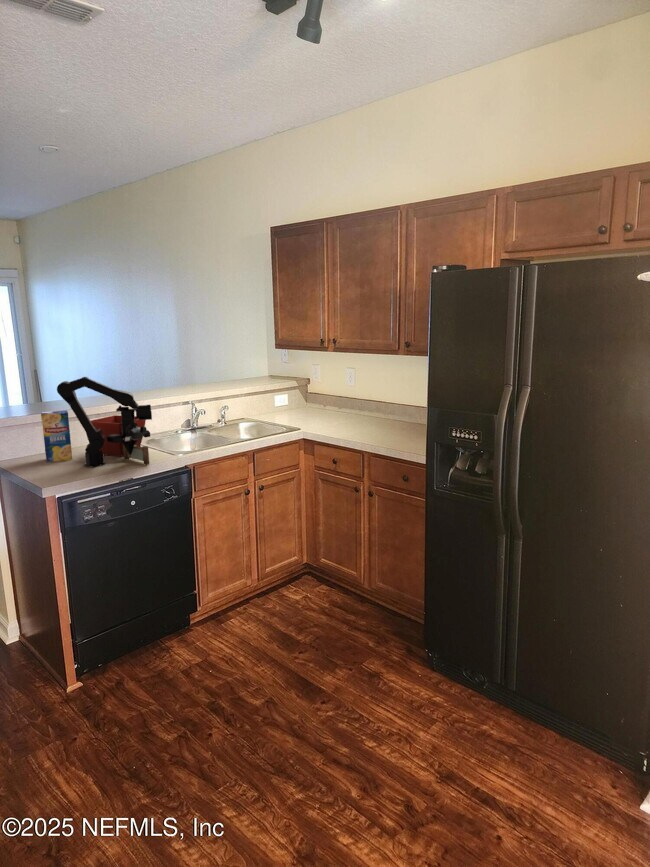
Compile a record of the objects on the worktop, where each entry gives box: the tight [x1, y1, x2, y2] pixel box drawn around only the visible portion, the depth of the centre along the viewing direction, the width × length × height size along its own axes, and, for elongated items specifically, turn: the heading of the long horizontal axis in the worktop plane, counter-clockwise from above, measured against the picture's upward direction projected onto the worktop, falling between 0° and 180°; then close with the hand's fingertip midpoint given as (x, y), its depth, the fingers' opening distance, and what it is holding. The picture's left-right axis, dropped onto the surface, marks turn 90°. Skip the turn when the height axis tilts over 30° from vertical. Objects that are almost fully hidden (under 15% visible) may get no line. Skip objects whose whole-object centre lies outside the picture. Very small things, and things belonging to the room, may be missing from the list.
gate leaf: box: [127, 445, 144, 462], centre depth 258 cm, size 2×12×6 cm, turn 51°
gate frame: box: [123, 445, 150, 466], centre depth 258 cm, size 2×17×8 cm, turn 52°
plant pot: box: [90, 414, 147, 457], centre depth 273 cm, size 19×19×17 cm
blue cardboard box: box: [40, 410, 73, 463], centre depth 261 cm, size 7×11×22 cm, turn 117°
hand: (130, 454), depth 256 cm, fingers closed
